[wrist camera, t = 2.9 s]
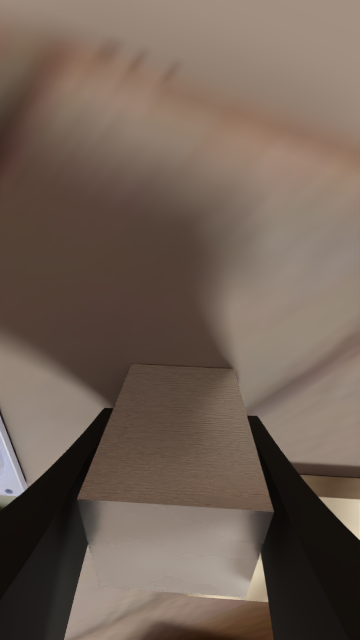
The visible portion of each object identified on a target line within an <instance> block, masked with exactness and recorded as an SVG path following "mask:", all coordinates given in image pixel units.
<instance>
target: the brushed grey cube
mask: <svg viewBox="0 0 360 640" xmlns="http://www.w3.org/2000/svg"><path fill="white" fill-rule="evenodd" d="M77 501H78V505H79V509H80V513H81V517H82V521H83V525H84V529H85V533H86V537H87V541H88V545H89V549H90V553H91V557H92V561H93V565H94V569H95V573H96V577H97V581H98V585H99V587H110V588H123V589H136V590H149V591H162V592H175V593H189V594H202V595H215V596H228V597H241V598H246V595H247V592H248V589H249V586H250V583H251V580H252V577H253V574H254V571H255V568H256V565H257V562H258V559H259V556H260V553H261V550H262V547H263V544H264V540H265V537H266V534H267V531H268V528H269V525H270V522H271V519H272V516H273V513H274V510H273V507H272V503H271V500H270V496H269V492H268V489H267V485H266V482H265V478H264V475H263V471H262V468H261V464H260V461H259V457H258V453H257V450H256V446H255V443H254V439H253V436H252V432H251V429H250V425H249V422H248V418H247V414H246V411H245V407H244V404H243V400H242V397H241V393H240V390H239V386H238V382H237V379H236V375H235V372H234V369H224V368H203V367H182V366H162V365H141V364H131V367H130V369H129V372H128V374H127V377H126V379H125V382H124V384H123V386H122V389H121V391H120V394H119V396H118V399H117V401H116V404H115V406H114V409H113V411H112V414H111V416H110V419H109V421H108V423H107V426H106V428H105V431H104V433H103V436H102V438H101V441H100V443H99V446H98V448H97V451H96V453H95V456H94V458H93V461H92V463H91V465H90V468H89V470H88V473H87V475H86V478H85V480H84V483H83V485H82V488H81V490H80V493H79V495H78V498H77Z"/></svg>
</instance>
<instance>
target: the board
mask: <svg viewBox="0 0 360 640" xmlns="http://www.w3.org/2000/svg"><path fill="white" fill-rule="evenodd" d="M300 476H301V477H302V478H303V479H304V481H305V482H306V483H307V484H308V485H309V487H310V488H311V489H312V490H313V491H314V492H315V494H316V495H317V496H318V497H319V498H320V499H321V500H322V501H323V503H324V504H325V505H326V506H327V507H328V508H329V509H330V510H331V511H332V512H333V513H334V514H335V516H336V517H337V518H338V519H339V520H340V521H341V522H342V523H343V524H344V525H345V526H346V527H347V528H348V529H349V530H350V531H351V532H352V533H353V534H354V535H355V536H356V537H357V538H358V539H359V540H360V478H344V477H328V476H311V475H300ZM186 596H197V597H210V598H223V599H236V600H249V601H263V602H268V596H267V590H266V583H265V577H264V571H263V565H262V559H261V553H260V556H259V559H258V562H257V565H256V568H255V571H254V574H253V577H252V580H251V583H250V586H249V589H248V592H247V595H246V598H241V597H228V596H215V595H202V594H189V593H186Z"/></svg>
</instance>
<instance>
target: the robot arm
mask: <svg viewBox="0 0 360 640" xmlns="http://www.w3.org/2000/svg"><path fill="white" fill-rule="evenodd" d="M113 409H114V408H104V409H103V410H102V411H101V412H100V414H99V415H98V416H97V417H96V418H95V420H94V421H93V422H92V423H91V424H90V426H89V427H88V428H87V429H86V430H85V431H84V432H83V434H82V435H81V436H80V437H79V438H78V439H77V440H76V441H75V442H74V443H73V445H72V446H71V447H70V448H69V449H68V450H67V451H66V452H65V453H64V454H63V455H62V456H61V457H60V458H59V459H58V460H57V461H56V462H55V463H54V464H53V465H52V466H51V467H50V468H49V469H48V470H47V471H46V472H45V473H44V474H43V475H42V476H41V477H40V478H39V479H37V480H36V481H35V482H34V483H33V484H32V485H31V486H30V487H28V488H27V485H26V482H25V479H24V477H23V474H22V471H21V469H20V466H19V464H18V461H17V458H16V456H15V453H14V450H13V448H12V445H11V443H10V440H9V437H8V435H7V432H6V430H5V427H4V424H3V422H2V419H1V416H0V495H9V496H18V497H17V498H16V499H14V500H13V501H12V502H11V503H10V504H8V505H7V506H6V507H5V508H4V509H2V510H1V511H0V640H64V637H65V633H66V629H67V624H68V620H69V616H70V612H71V608H72V604H73V600H74V596H75V592H76V588H77V584H78V580H79V576H80V572H81V568H82V564H83V561H84V557H85V553H86V549H87V546H88V541H87V537H86V533H85V529H84V525H83V521H82V517H81V513H80V509H79V505H78V501H77V498H78V495H79V493H80V490H81V488H82V485H83V483H84V480H85V478H86V475H87V473H88V470H89V468H90V465H91V463H92V461H93V458H94V456H95V453H96V451H97V448H98V446H99V443H100V441H101V438H102V436H103V433H104V431H105V428H106V426H107V423H108V421H109V419H110V416H111V414H112V411H113ZM247 418H248V422H249V425H250V429H251V432H252V436H253V439H254V443H255V446H256V450H257V453H258V457H259V461H260V464H261V468H262V471H263V475H264V478H265V482H266V485H267V489H268V492H269V496H270V500H271V503H272V507H273V510H274V513H273V516H272V519H271V522H270V525H269V528H268V531H267V534H266V537H265V540H264V544H263V547H262V550H261V559H262V565H263V571H264V577H265V583H266V590H267V596H268V602H269V609H270V616H271V623H272V630H273V637H274V640H360V540H359V539H358V538H357V537H356V536H355V535H354V534H353V533H352V532H351V531H350V530H349V529H348V528H347V527H346V526H345V525H344V524H343V523H342V522H341V521H340V520H339V519H338V518H337V517H336V516H335V514H334V513H333V512H332V511H331V510H330V509H329V508H328V507H327V506H326V505H325V504H324V503H323V501H322V500H321V499H320V498H319V497H318V496H317V495H316V494H315V492H314V491H313V490H312V489H311V488H310V487H309V485H308V484H307V483H306V482H305V481H304V479H303V478H302V477H301V476H300V474H299V473H298V472H297V471H296V469H295V468H294V467H293V466H292V464H291V463H290V462H289V460H288V459H287V458H286V456H285V455H284V454H283V452H282V451H281V450H280V448H279V447H278V445H277V444H276V443H275V441H274V440H273V438H272V437H271V435H270V434H269V433H268V431H267V430H266V428H265V427H264V425H263V424H262V422H261V420H260V419H259V418H258V417H257V416H247Z"/></svg>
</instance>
